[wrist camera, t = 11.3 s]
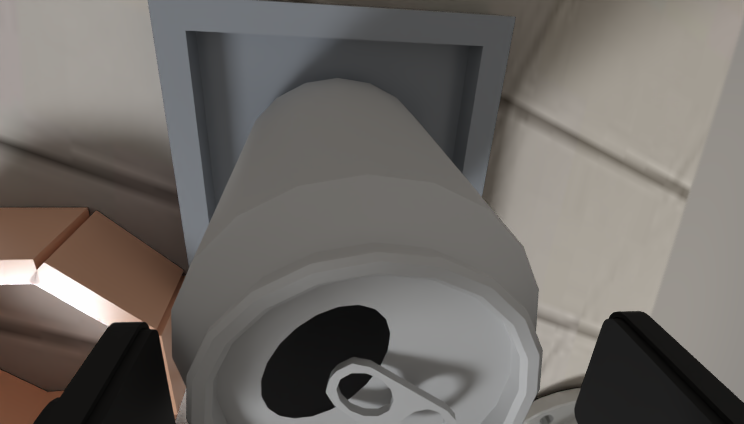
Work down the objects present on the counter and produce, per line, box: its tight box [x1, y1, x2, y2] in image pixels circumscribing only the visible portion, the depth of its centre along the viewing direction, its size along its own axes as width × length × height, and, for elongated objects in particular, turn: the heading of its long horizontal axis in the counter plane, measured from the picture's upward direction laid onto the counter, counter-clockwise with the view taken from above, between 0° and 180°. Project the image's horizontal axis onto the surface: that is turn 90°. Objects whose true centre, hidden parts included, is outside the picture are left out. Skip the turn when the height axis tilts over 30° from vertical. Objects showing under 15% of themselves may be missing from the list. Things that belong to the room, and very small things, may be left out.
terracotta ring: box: [0, 207, 186, 424], centre depth 18 cm, size 12×12×4 cm
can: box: [171, 78, 543, 424], centre depth 13 cm, size 8×8×12 cm
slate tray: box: [148, 0, 516, 267], centre depth 18 cm, size 12×12×2 cm
